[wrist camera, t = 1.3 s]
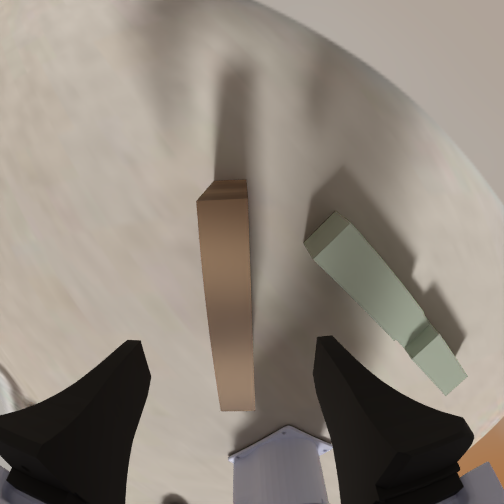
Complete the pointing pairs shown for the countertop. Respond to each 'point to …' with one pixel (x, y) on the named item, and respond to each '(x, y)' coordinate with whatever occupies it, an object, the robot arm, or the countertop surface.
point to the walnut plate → (228, 290)
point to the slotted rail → (383, 298)
